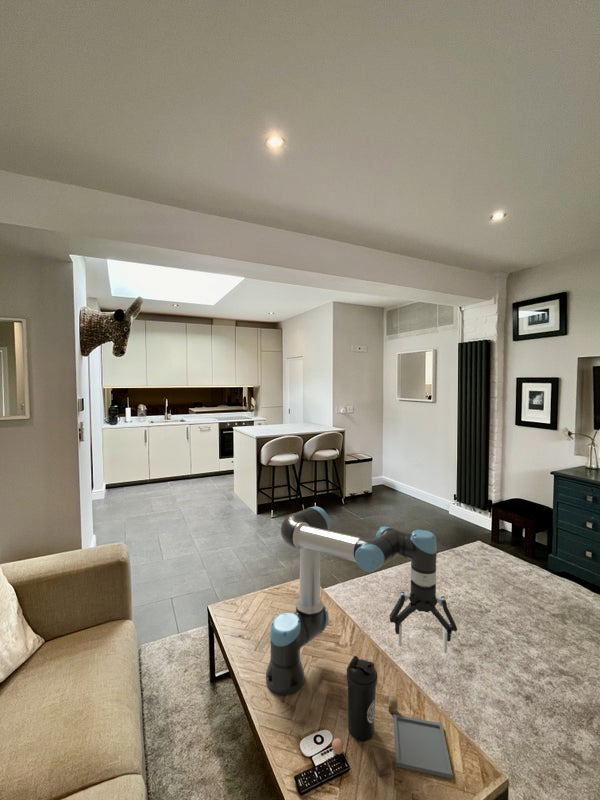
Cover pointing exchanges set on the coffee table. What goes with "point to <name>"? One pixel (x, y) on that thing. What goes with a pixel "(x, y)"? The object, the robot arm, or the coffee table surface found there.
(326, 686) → the coffee table surface
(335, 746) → the rubber ball
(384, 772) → the walnut cube
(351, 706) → the water bottle
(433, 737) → the tray
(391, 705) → the cylinder
